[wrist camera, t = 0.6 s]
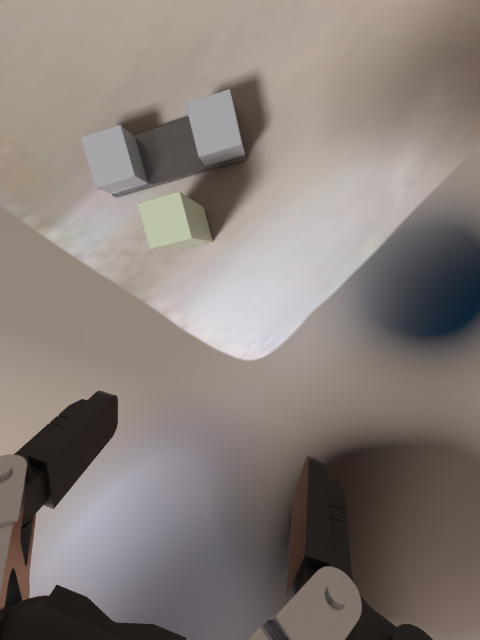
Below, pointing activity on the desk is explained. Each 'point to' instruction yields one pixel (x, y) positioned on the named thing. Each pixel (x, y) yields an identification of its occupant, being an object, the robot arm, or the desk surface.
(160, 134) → the dark gray flat board
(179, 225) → the block
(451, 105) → the desk surface
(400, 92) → the desk surface
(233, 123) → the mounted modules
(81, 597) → the robot arm
